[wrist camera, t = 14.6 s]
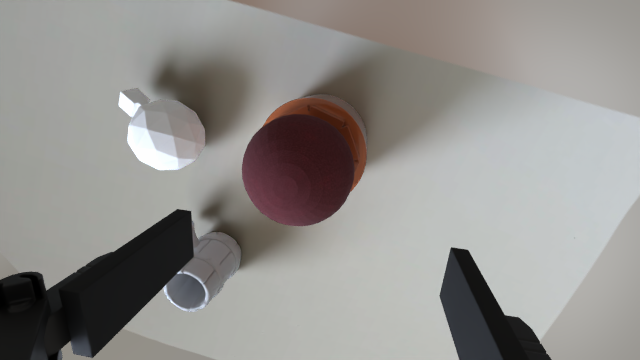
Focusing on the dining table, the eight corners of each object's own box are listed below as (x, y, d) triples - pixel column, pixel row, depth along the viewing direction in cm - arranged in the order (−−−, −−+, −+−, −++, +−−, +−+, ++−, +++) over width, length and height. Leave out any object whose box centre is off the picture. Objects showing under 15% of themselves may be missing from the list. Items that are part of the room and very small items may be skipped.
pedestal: (383, 118, 39) (387, 130, 30) (342, 197, 43) (335, 228, 34) (297, 78, 39) (276, 77, 30) (264, 160, 43) (237, 182, 34)
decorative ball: (253, 183, 35) (210, 222, 25) (277, 95, 31) (237, 102, 22) (338, 214, 34) (326, 265, 25) (371, 128, 31) (371, 149, 22)
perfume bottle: (229, 123, 40) (162, 63, 41) (173, 148, 33) (92, 75, 34) (209, 166, 46) (150, 112, 46) (157, 196, 38) (87, 132, 39)
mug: (218, 279, 51) (174, 337, 40) (171, 222, 49) (112, 265, 38) (253, 260, 49) (218, 315, 37) (206, 199, 47) (154, 238, 35)
